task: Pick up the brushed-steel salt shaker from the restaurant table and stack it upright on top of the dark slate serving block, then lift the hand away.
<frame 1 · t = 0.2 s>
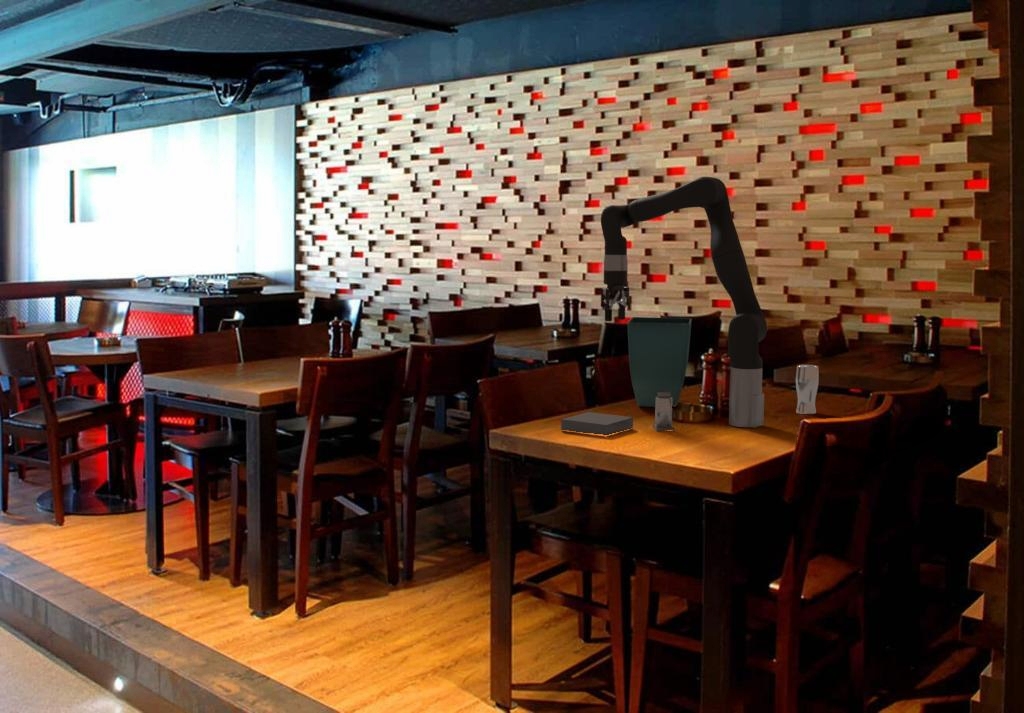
hand: (615, 320, 324), 29 cm above the table, fingers open, 8 cm apart
slate block: (597, 431, 294), on the table
flower pot: (658, 405, 339), on the table
beer glass: (805, 413, 324), on the table
salt shaker: (663, 429, 295), on the table
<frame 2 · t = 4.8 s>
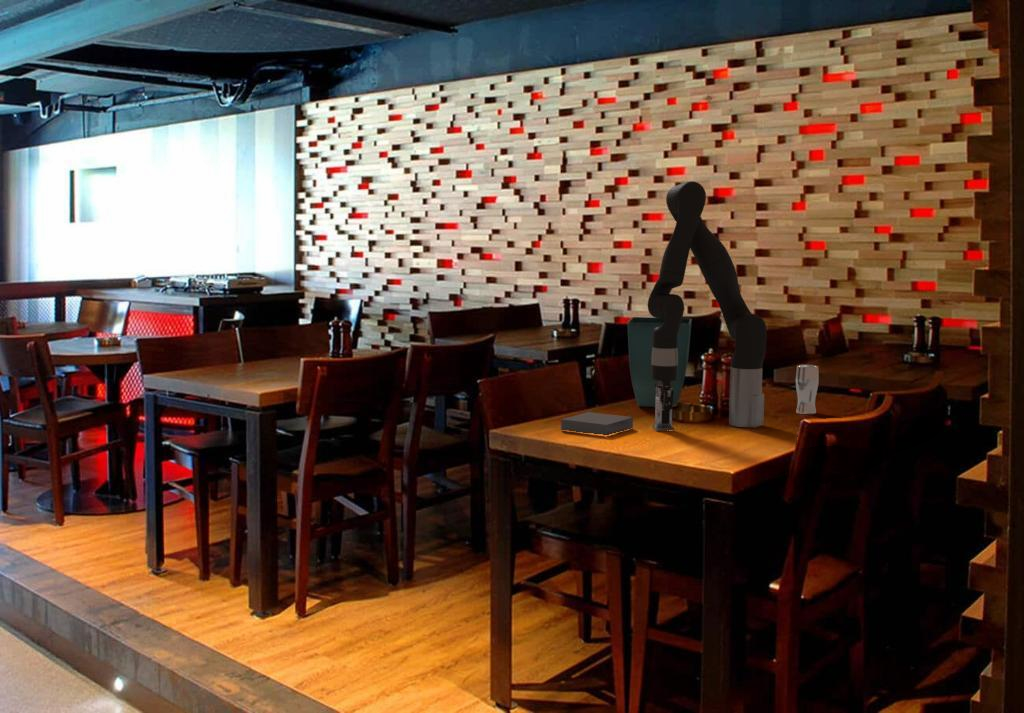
hand: (663, 421, 295), 2 cm above the table, fingers closed on salt shaker, 4 cm apart
salt shaker: (663, 429, 295), on the table, touching gripper
everything else where it was.
when the fingers open (7 cm above the table, at t = 11.9 s): salt shaker drops 1 cm, resting on slate block.
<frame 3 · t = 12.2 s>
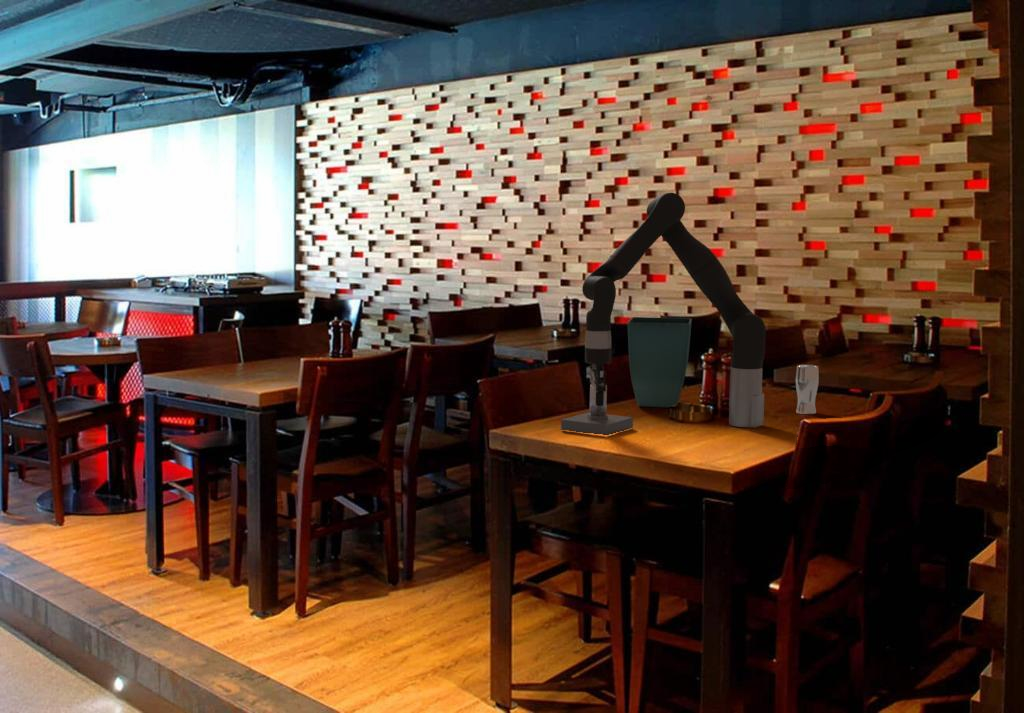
hand: (597, 403, 293), 8 cm above the table, fingers open, 7 cm apart
slate block: (597, 432, 294), on the table, touching salt shaker
salt shaker: (597, 418, 294), point 4 cm above the table, touching slate block
everything else where it was.
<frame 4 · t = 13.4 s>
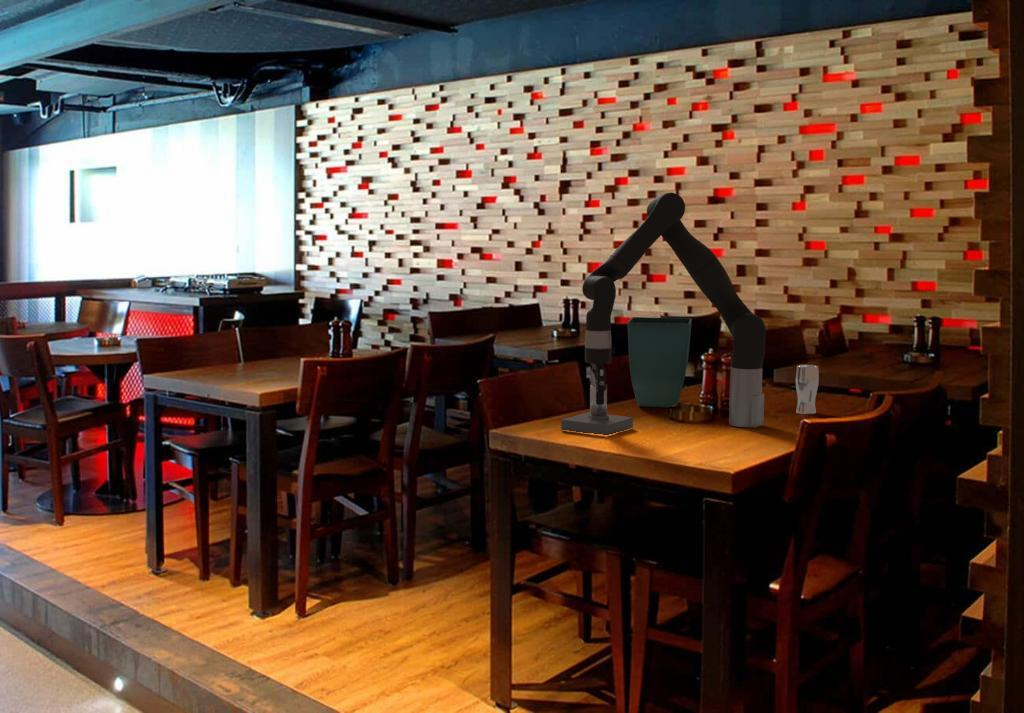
hand: (597, 402, 293), 8 cm above the table, fingers open, 8 cm apart
nothing on the table moved.
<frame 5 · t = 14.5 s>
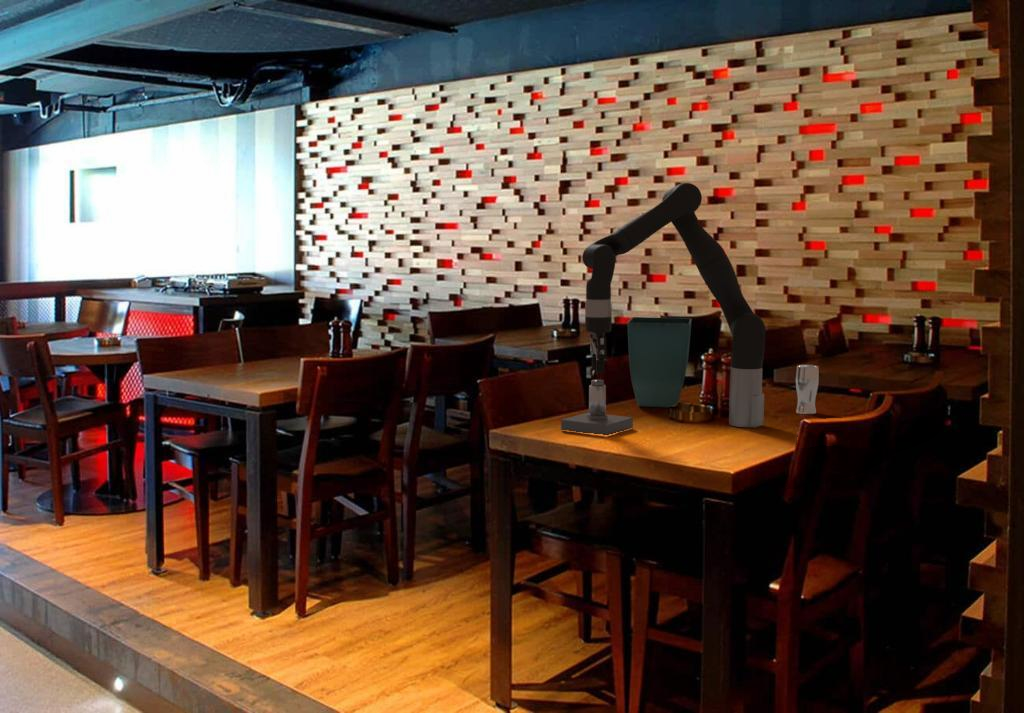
hand: (598, 371, 292), 17 cm above the table, fingers open, 8 cm apart
nothing on the table moved.
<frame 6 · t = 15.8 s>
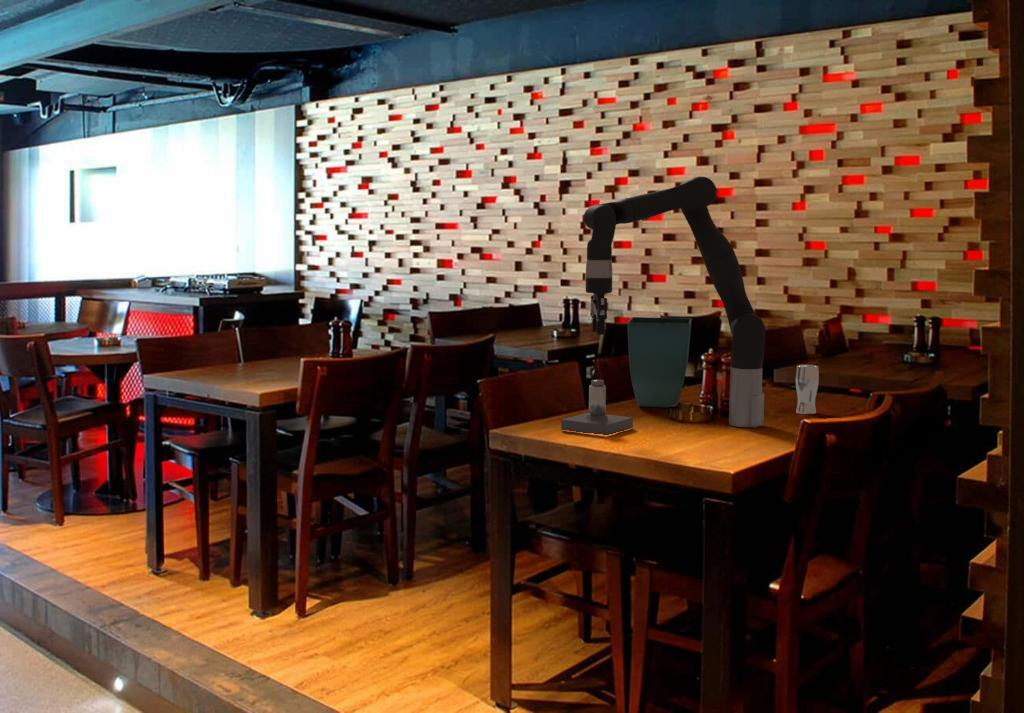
hand: (598, 333, 291), 28 cm above the table, fingers open, 8 cm apart
nothing on the table moved.
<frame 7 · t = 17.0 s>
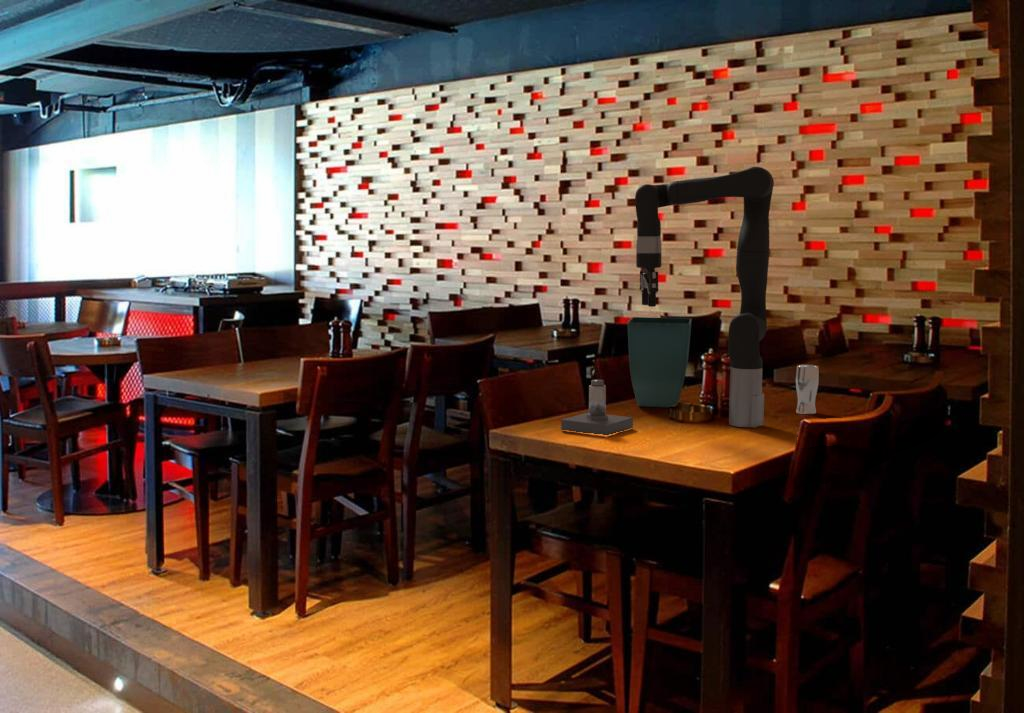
hand: (648, 305, 308), 35 cm above the table, fingers open, 8 cm apart
slate block: (597, 432, 294), on the table
salt shaker: (597, 418, 294), point 3 cm above the table
everything else where it was.
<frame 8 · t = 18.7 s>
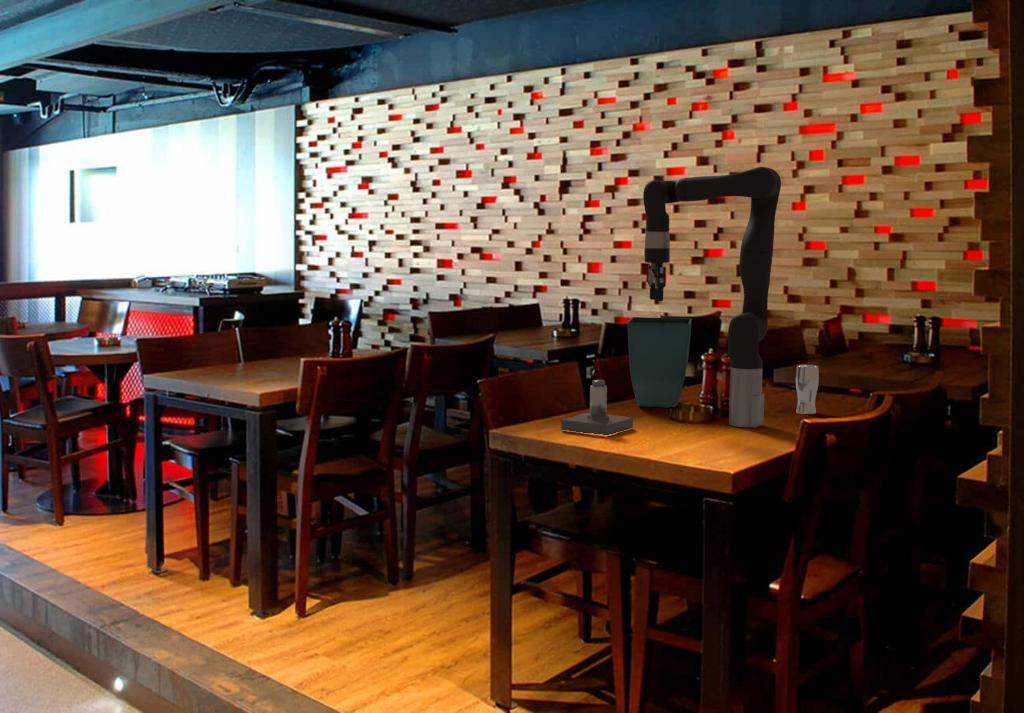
hand: (656, 300, 311), 36 cm above the table, fingers open, 8 cm apart
slate block: (597, 432, 294), on the table, touching salt shaker
salt shaker: (598, 418, 294), point 3 cm above the table, touching slate block
everything else where it was.
at the end: salt shaker inside the target area on the slate block (0.2 cm from its centre), point 4.0 cm above the slate block's base; salt shaker tilted 0°; the gripper is holding nothing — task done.
